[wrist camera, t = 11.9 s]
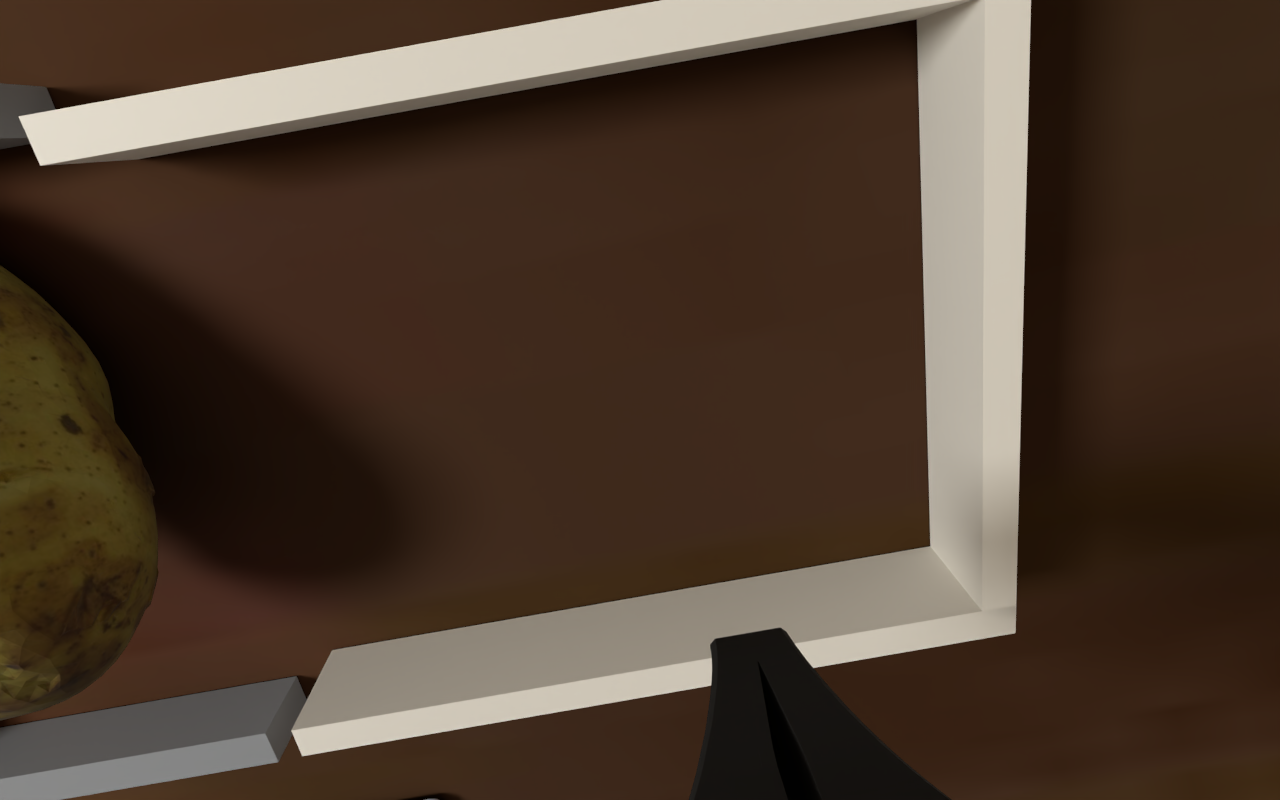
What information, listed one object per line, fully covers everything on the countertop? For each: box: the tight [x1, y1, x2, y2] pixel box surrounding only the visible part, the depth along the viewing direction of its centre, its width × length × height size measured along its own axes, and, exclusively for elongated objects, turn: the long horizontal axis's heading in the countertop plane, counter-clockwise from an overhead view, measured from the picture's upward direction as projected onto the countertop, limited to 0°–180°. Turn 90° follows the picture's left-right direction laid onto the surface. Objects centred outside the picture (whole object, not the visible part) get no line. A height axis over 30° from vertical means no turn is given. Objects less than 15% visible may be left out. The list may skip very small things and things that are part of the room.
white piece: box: [18, 0, 1031, 756], centre depth 20 cm, size 18×22×4 cm
